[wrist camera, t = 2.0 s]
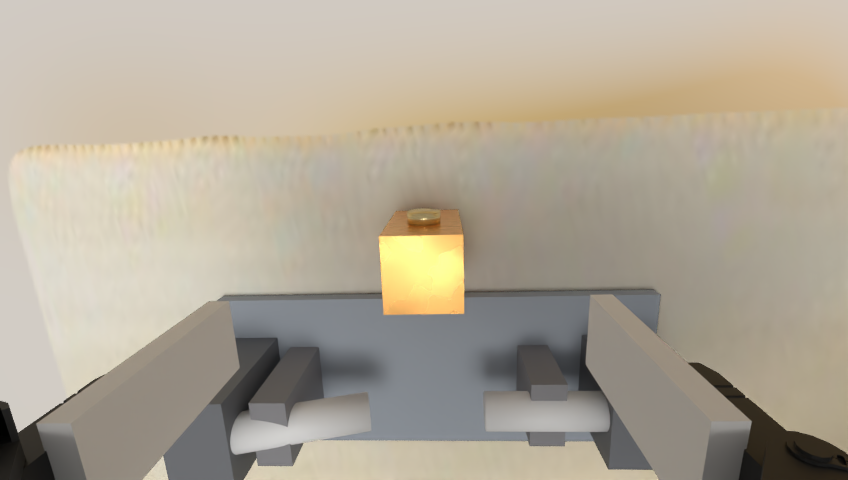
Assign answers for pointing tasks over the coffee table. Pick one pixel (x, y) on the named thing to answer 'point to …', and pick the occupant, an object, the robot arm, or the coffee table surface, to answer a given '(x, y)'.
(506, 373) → the shaft rig
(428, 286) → the universal joint coupler
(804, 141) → the coffee table surface
